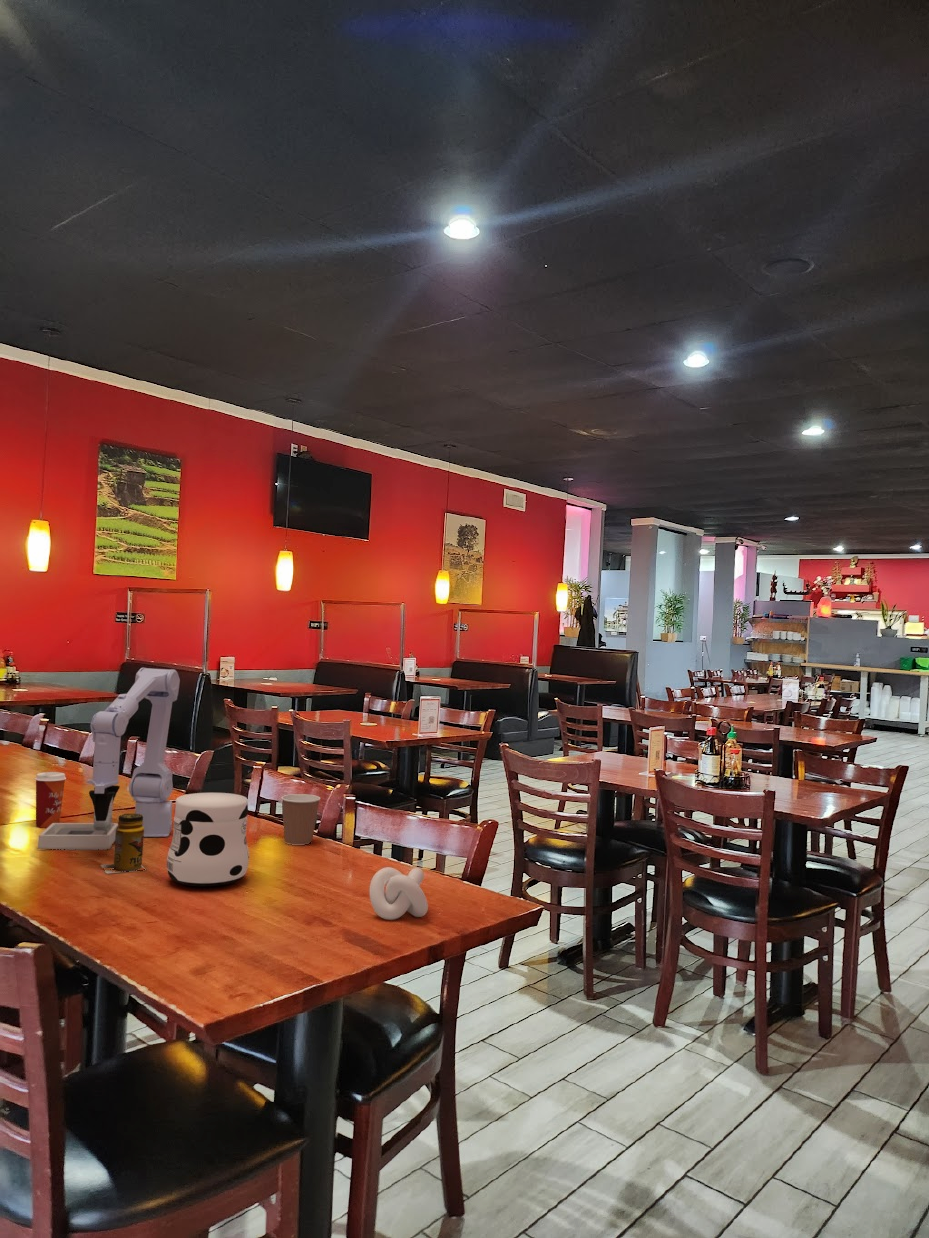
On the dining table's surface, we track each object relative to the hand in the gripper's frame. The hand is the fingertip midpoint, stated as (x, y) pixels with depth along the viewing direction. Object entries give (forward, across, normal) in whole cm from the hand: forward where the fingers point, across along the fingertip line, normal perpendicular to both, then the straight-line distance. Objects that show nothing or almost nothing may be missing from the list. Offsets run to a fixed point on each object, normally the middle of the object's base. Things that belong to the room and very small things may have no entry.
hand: (102, 818), depth 204 cm
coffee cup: (+9, -12, +47) cm, 49 cm away
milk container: (+9, +23, +26) cm, 36 cm away
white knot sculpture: (+9, +49, +64) cm, 81 cm away
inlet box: (+9, -12, -7) cm, 16 cm away
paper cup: (+9, -32, -19) cm, 38 cm away
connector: (+2, 0, 0) cm, 2 cm away
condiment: (+9, +12, +7) cm, 17 cm away
